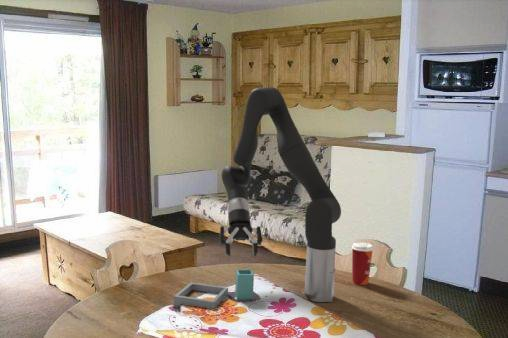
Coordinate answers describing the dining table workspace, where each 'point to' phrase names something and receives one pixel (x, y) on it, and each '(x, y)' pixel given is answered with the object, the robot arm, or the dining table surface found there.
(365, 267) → the paper cup
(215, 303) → the charcoal tray
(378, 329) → the dining table surface
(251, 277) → the teal sleeve
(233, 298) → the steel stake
